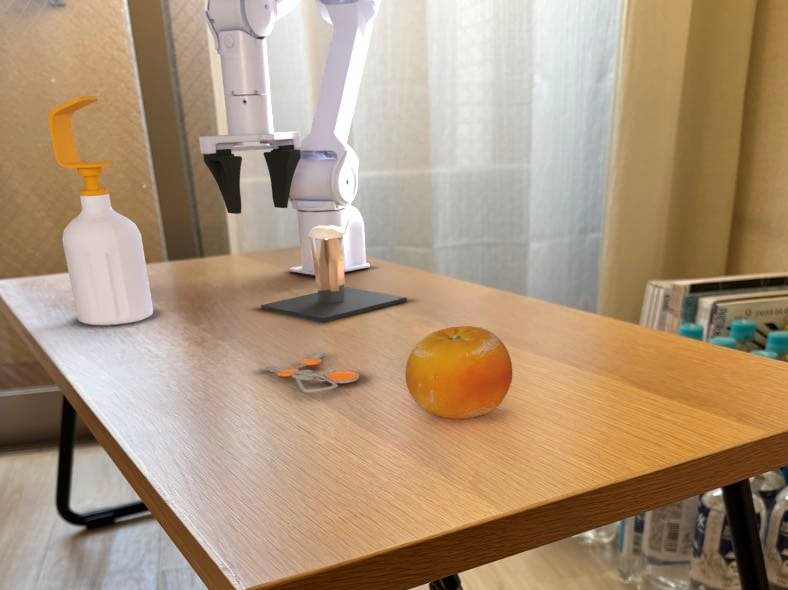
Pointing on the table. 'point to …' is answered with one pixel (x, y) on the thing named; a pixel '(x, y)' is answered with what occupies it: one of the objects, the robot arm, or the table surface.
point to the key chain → (315, 374)
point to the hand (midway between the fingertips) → (258, 210)
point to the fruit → (459, 372)
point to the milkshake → (328, 261)
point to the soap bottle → (99, 240)
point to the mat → (333, 305)
